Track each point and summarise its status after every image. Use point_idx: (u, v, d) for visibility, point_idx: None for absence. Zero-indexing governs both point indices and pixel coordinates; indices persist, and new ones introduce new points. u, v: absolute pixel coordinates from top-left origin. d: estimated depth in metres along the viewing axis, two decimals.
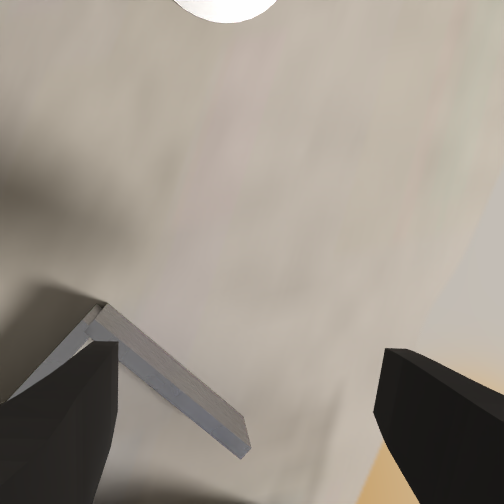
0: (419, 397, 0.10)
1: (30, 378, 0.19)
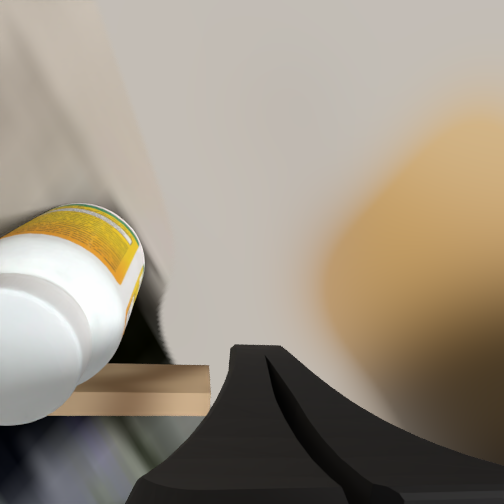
0: None
1: None
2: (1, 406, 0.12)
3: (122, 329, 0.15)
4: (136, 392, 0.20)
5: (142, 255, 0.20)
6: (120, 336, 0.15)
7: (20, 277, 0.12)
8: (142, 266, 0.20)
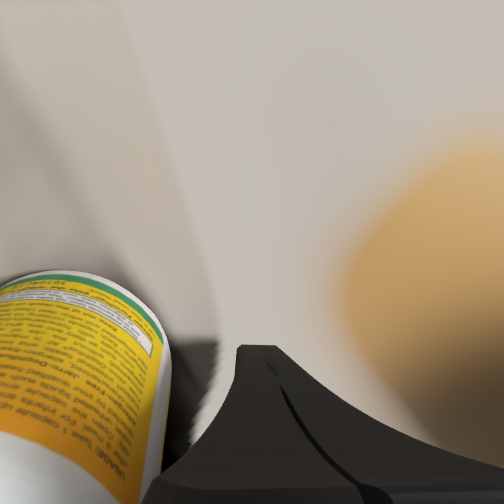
0: None
1: None
2: None
3: None
4: None
5: (169, 358, 0.12)
6: None
7: None
8: (169, 381, 0.11)
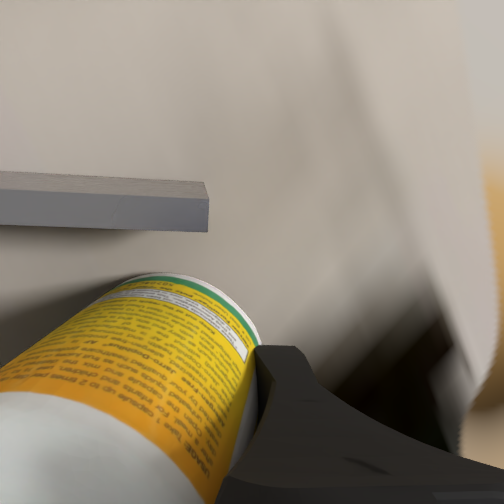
0: (264, 396, 0.10)
1: None
2: None
3: None
4: None
5: None
6: None
7: None
8: None
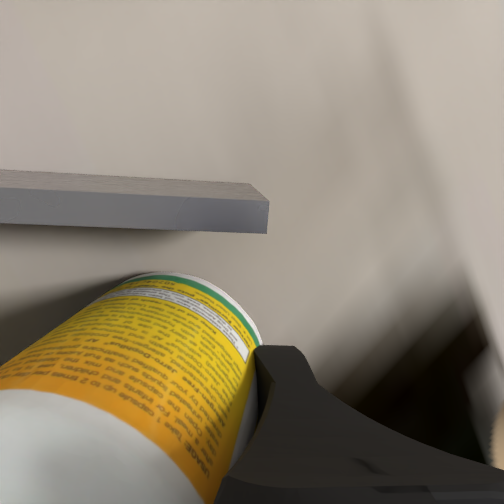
0: (262, 396, 0.10)
1: None
2: None
3: None
4: None
5: None
6: None
7: None
8: None
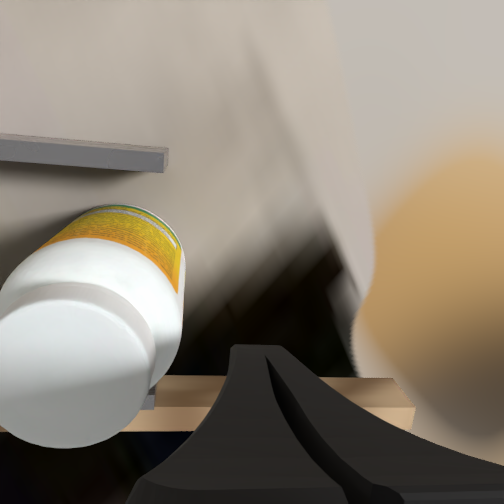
0: None
1: None
2: (61, 427, 0.11)
3: (179, 342, 0.14)
4: None
5: (184, 260, 0.19)
6: (177, 349, 0.14)
7: (84, 287, 0.11)
8: (185, 271, 0.19)
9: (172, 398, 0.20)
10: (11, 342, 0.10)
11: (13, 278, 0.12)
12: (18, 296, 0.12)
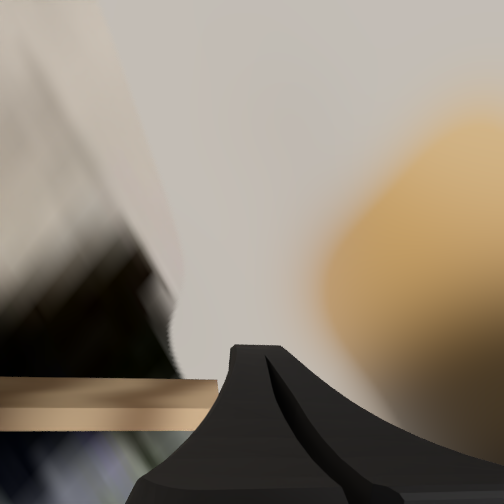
0: None
1: None
2: None
3: None
4: (147, 408, 0.21)
5: None
6: None
7: None
8: None
9: None
10: None
11: None
12: None
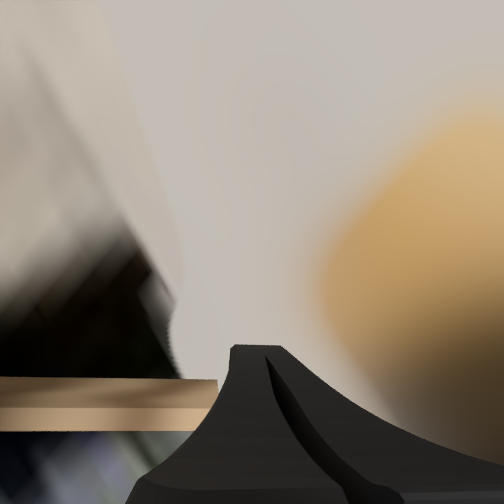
0: None
1: None
2: None
3: None
4: (147, 408, 0.21)
5: None
6: None
7: None
8: None
9: None
10: None
11: None
12: None
